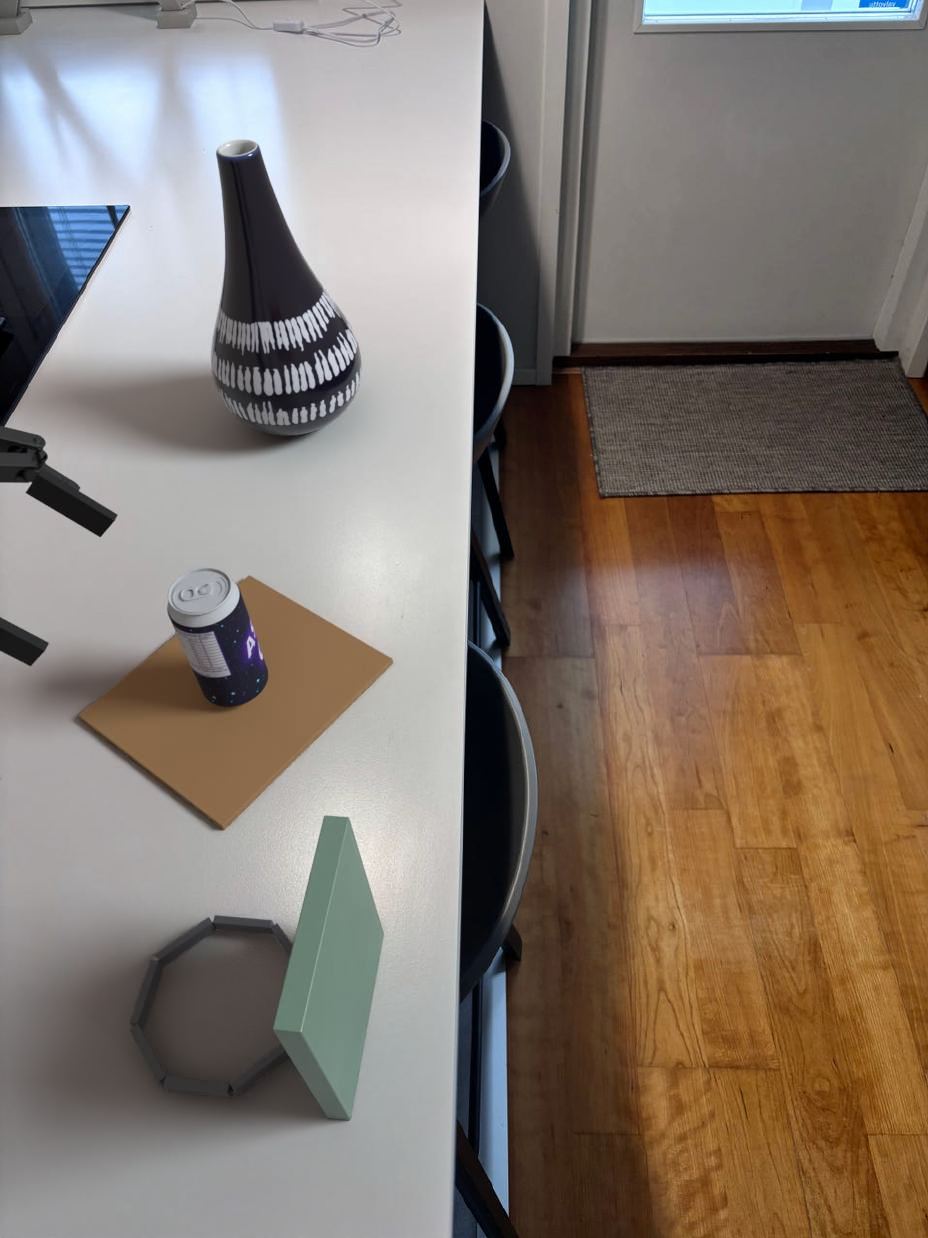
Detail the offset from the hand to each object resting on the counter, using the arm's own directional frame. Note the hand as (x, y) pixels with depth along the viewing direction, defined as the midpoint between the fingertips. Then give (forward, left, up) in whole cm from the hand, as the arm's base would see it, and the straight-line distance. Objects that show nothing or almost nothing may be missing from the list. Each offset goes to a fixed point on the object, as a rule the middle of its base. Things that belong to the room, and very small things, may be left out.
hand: (77, 586), depth 73 cm
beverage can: (+5, -8, -12) cm, 16 cm away
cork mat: (+5, -8, -13) cm, 16 cm away
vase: (+36, +15, -13) cm, 41 cm away
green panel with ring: (-13, -29, -13) cm, 34 cm away
